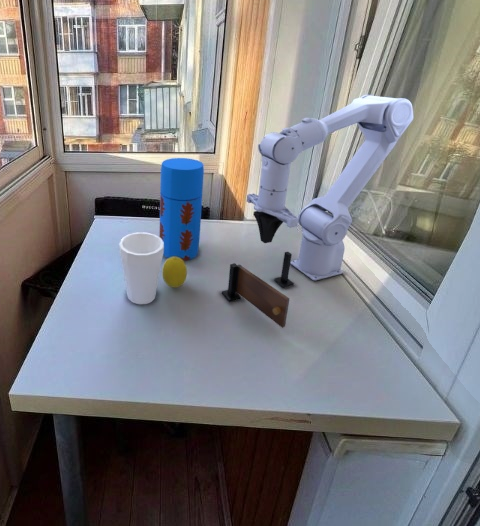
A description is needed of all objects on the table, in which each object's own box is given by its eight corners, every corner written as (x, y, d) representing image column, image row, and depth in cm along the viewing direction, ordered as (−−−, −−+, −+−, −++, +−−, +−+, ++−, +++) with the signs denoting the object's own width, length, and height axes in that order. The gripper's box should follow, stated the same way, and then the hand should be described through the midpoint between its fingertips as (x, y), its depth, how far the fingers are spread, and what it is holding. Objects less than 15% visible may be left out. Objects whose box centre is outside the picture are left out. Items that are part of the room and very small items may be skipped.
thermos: (166, 263, 85) (169, 171, 78) (154, 242, 95) (155, 159, 88) (205, 258, 88) (211, 168, 80) (189, 238, 98) (194, 156, 90)
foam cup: (168, 288, 76) (170, 237, 72) (153, 314, 68) (154, 259, 64) (131, 277, 80) (130, 229, 76) (112, 301, 72) (111, 248, 68)
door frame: (284, 277, 80) (288, 248, 77) (293, 285, 77) (298, 255, 75) (221, 293, 74) (224, 262, 72) (229, 302, 72) (232, 270, 69)
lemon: (185, 296, 73) (186, 265, 71) (160, 293, 74) (161, 262, 72) (186, 281, 79) (188, 251, 76) (163, 278, 80) (164, 249, 77)
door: (285, 326, 64) (290, 298, 62) (278, 330, 63) (283, 301, 61) (236, 289, 74) (239, 264, 72) (230, 291, 73) (233, 266, 71)
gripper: (238, 178, 79) (233, 229, 83) (282, 201, 66) (273, 261, 70) (262, 175, 81) (256, 225, 85) (309, 197, 68) (300, 255, 72)
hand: (266, 241), depth 78 cm, fingers closed
